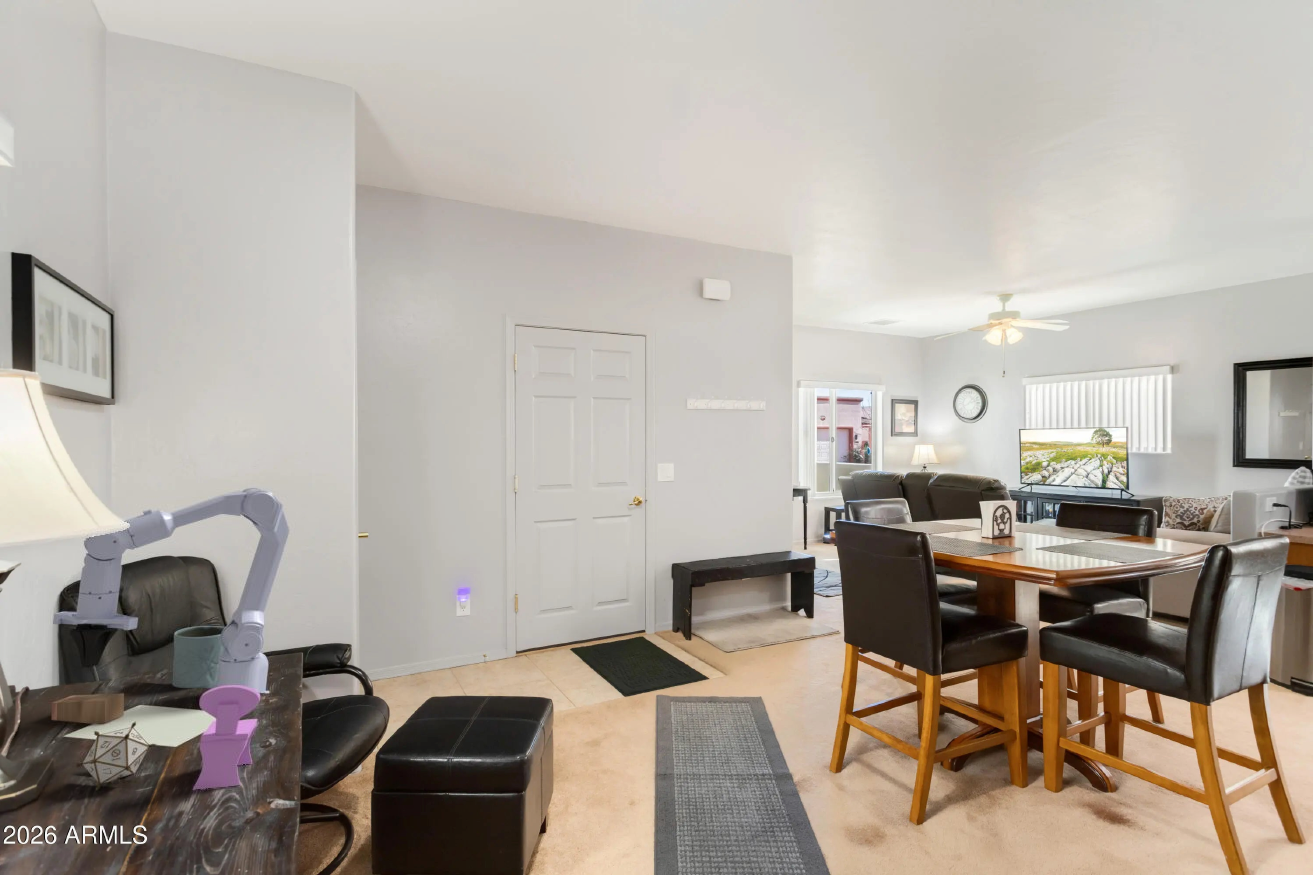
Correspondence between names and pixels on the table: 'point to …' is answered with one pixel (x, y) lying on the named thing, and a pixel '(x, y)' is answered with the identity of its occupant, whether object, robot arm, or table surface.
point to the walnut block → (89, 708)
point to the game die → (115, 755)
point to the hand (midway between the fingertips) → (89, 665)
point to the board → (154, 725)
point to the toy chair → (226, 734)
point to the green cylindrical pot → (197, 656)
